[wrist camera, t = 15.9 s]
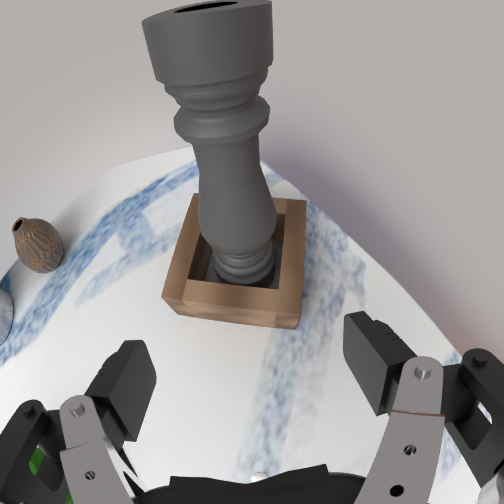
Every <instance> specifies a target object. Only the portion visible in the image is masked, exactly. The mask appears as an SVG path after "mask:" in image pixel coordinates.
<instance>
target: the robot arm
mask: <svg viewBox="0 0 504 504" xmlns="http://www.w3.org/2000/svg"><path fill="white" fill-rule="evenodd" d="M12 319H13V303H12V299H11V297H10V295H9V294H8V293H7V292H5V291H4V290H2V289H1V288H0V345H1V344H2V343H3V342H4V341H5V339H6V338H7V336H8V333H9V331H10V328H11V324H12ZM343 353H344V357H345V360H346V362H347V364H348V366H349V368H350V369H351V371H352V373H353V375H354V376H355V378H356V380H357V382H358V384H359V385H360V387H361V389H362V391H363V392H364V394H365V396H366V398H367V400H368V401H369V403H370V405H371V407H372V409H373V411H374V412H375V414H376V416H379V415H382V414H385V413H388V415H389V417H390V418H389V421H388V424H387V427H386V430H385V433H384V436H383V438H382V441H381V444H380V447H379V449H378V452H377V454H376V457H375V459H374V462H373V464H372V466H371V469H370V471H369V473H368V476H367V478H366V477H363V476H359V475H355V474H349V473H339V472H328V469H327V466H326V464H322V465H318V466H313V467H308V468H303V469H298V470H292V471H287V472H284V473H281V474H278V475H275V476H272V477H269V478H266V479H263V480H260V481H256V482H253V483H249V484H242V483H235V482H229V481H223V480H217V479H212V478H207V477H178V476H171V477H170V483H169V485H168V486H162V487H158V488H155V489H152V490H149V489H148V488H147V486H146V485H145V484H144V482H143V480H142V479H141V477H140V475H139V474H138V472H137V470H136V468H135V467H134V465H133V463H132V461H131V459H130V458H129V456H128V454H127V452H126V450H125V448H124V447H123V443H124V441H132V442H136V441H137V437H138V434H139V431H140V428H141V425H142V422H143V419H144V416H145V413H146V411H147V408H148V405H149V402H150V399H151V396H152V393H153V390H154V388H155V385H156V372H155V369H154V366H153V363H152V361H151V358H150V355H149V353H148V350H147V347H146V344H145V342H144V341H143V340H126V341H124V342H123V344H122V345H121V347H120V348H119V350H118V351H117V352H115V353H114V354H112V355H111V356H110V357H109V358H107V359H106V361H105V362H104V364H103V365H102V368H101V369H100V370H99V372H98V375H96V376H95V378H94V379H93V381H92V383H91V384H90V386H89V387H88V389H87V391H86V392H85V394H84V395H78V396H74V397H71V398H69V399H68V400H66V401H65V402H64V403H63V404H62V406H61V408H60V410H50V411H47V410H46V409H45V408H44V406H43V404H42V403H41V402H40V401H38V400H29V401H26V402H24V403H22V404H21V405H20V406H19V407H18V409H17V410H16V411H15V413H14V414H13V416H12V417H11V419H10V420H9V422H8V423H7V425H6V427H5V428H4V430H3V431H2V433H1V434H0V504H65V501H66V497H67V494H68V491H69V490H70V493H71V497H72V499H73V502H74V504H428V503H427V502H428V499H429V495H430V492H431V488H432V485H433V481H434V477H435V473H436V468H437V464H438V459H439V454H440V448H441V442H442V436H443V429H444V426H445V427H446V429H447V431H448V432H449V434H450V435H451V437H452V439H453V440H454V442H455V444H456V445H457V447H458V449H459V450H460V452H461V454H462V455H463V457H464V459H465V461H466V462H467V464H468V466H469V467H470V469H471V471H472V473H473V475H474V476H475V478H476V480H477V482H478V484H479V486H480V488H481V491H480V493H479V497H478V504H504V364H503V363H502V362H500V361H499V360H498V359H497V358H496V357H495V356H494V355H493V354H492V353H490V352H489V351H487V350H484V349H478V348H476V349H471V350H468V351H467V352H465V354H464V355H463V358H462V361H461V363H460V364H455V365H448V366H442V365H441V364H440V363H439V362H438V361H437V360H435V359H433V358H431V357H426V356H419V357H418V356H417V355H416V354H415V353H414V352H413V351H412V350H411V349H410V348H409V347H408V346H407V345H406V344H405V342H404V341H403V340H402V339H400V338H399V336H398V335H397V334H396V333H394V331H393V330H392V329H391V328H390V327H389V326H388V325H387V324H385V323H383V322H381V321H379V320H374V321H373V320H372V319H371V318H370V317H369V316H368V315H367V314H366V312H364V311H360V312H355V313H351V314H346V315H345V317H344V335H343ZM480 402H481V403H482V405H483V406H484V407H485V408H486V410H487V411H488V412H489V413H490V415H491V418H492V425H491V423H490V422H489V421H488V419H487V418H486V417H485V415H484V414H483V413H482V411H481V410H480V409H479V408H478V405H479V403H480ZM37 446H38V447H39V448H40V449H41V450H42V451H43V452H44V453H45V455H44V457H43V459H42V461H41V464H40V466H39V468H38V470H37V473H36V475H34V474H33V473H32V472H31V470H30V466H29V462H30V459H31V457H32V455H33V453H34V451H35V449H36V447H37Z"/></svg>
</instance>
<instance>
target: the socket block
mask: <svg viewBox="0 0 504 504" xmlns="http://www.w3.org/2000/svg"><path fill="white" fill-rule="evenodd" d="M272 200H273V203H274V206H275V208H276V211H277V217H276V227H275V230H274V232H273V234H272V236H271V237H270V238H271V240H273V241H283V250H282V260H281V270H280V280H279V289H278V290H277V289H267V288H258V287H248V286H239V285H230V284H222V283H213V282H205V281H204V278H205V274H206V270H207V266H208V261H209V257H210V253H211V249H212V247H211V246H210V245H209V243H208V242H207V241H206V240H205V238H204V237H203V236H202V234H201V231H200V226H199V221H198V204H199V193H194V194H193V197H192V200H191V203H190V205H189V208H188V211H187V214H186V217H185V220H184V223H183V226H182V229H181V232H180V235H179V238H178V241H177V245H176V248H175V251H174V254H173V257H172V261H171V264H170V267H169V271H168V274H167V278H166V281H165V285H164V288H163V292H162V295H161V297H162V298H163V299H164V300H165V302H166V303H167V304H168V305H169V306H170V307H171V308H172V309H173V310H174V311H175V312H176V313H177V314H179V315H185V316H191V317H197V318H203V319H210V320H217V321H224V322H231V323H238V324H246V325H255V326H264V327H273V328H283V329H294V330H295V328H296V325H297V323H298V320H299V317H300V315H301V302H302V288H303V272H304V253H305V229H306V201H304V200H293V199H282V198H272Z"/></svg>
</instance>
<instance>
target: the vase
mask: <svg viewBox="0 0 504 504" xmlns="http://www.w3.org/2000/svg"><path fill="white" fill-rule="evenodd" d="M12 232H13V235H14V238H15V245H16V251H17V254H18V256H19V258H20V259H21V261H22V262H23V263H24V265H25V266H27V267H28V268H29V269H31V270H32V271H35V272H38V273H48V272H50V271H52V270H54V269H55V268H56V267H57V266H58V265H59V263H60V262H61V259H62V255H63V243H62V239H61V237H60V235H59V233H58V232H57V230H56V229H55V228H54V227H53V226H52V225H51V224H50V223H48V222H46V221H44V220H41V219H26V218H23V217H21V218H19V219H18V220H17V221H16V222H15V223H14V225H13V228H12Z"/></svg>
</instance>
